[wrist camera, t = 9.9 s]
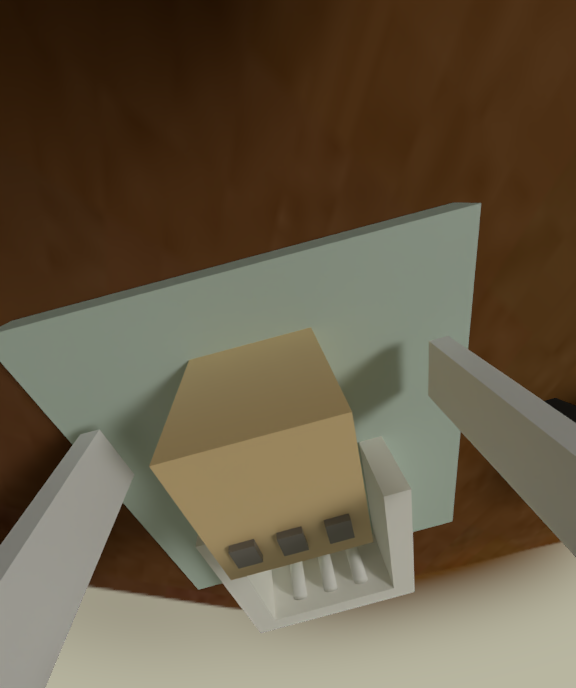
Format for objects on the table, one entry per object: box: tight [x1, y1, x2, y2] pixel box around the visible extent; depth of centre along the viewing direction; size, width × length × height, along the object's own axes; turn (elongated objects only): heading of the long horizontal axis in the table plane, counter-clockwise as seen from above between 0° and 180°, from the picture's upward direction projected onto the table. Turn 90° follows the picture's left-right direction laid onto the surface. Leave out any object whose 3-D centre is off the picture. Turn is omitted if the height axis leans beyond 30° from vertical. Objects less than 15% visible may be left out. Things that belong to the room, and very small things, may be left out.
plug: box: [149, 327, 373, 580], centre depth 10 cm, size 6×5×5 cm
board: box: [0, 203, 481, 633], centre depth 14 cm, size 20×18×4 cm
